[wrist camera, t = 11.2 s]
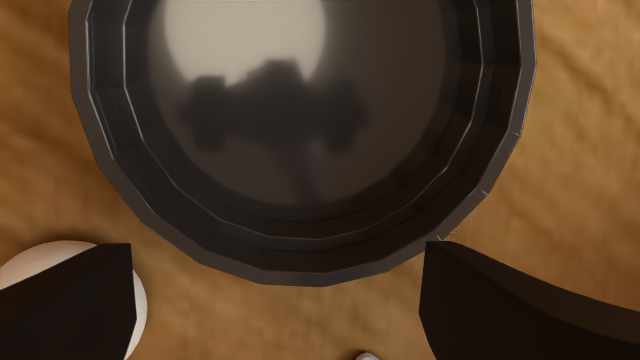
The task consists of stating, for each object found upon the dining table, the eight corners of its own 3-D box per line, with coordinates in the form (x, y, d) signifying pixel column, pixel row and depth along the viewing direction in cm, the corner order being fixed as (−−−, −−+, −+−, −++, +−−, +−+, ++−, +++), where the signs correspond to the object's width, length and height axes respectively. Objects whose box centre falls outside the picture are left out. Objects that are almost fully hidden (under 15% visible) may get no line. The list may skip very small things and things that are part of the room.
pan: (556, 55, 20) (622, 60, 16) (318, 302, 23) (328, 356, 19) (285, -251, 16) (289, -338, 12) (31, 87, 19) (-32, 101, 15)
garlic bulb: (32, 206, 20) (-118, 312, 12) (174, 260, 21) (119, 386, 14) (-12, 327, 21) (-169, 488, 14) (125, 371, 23) (50, 541, 15)
